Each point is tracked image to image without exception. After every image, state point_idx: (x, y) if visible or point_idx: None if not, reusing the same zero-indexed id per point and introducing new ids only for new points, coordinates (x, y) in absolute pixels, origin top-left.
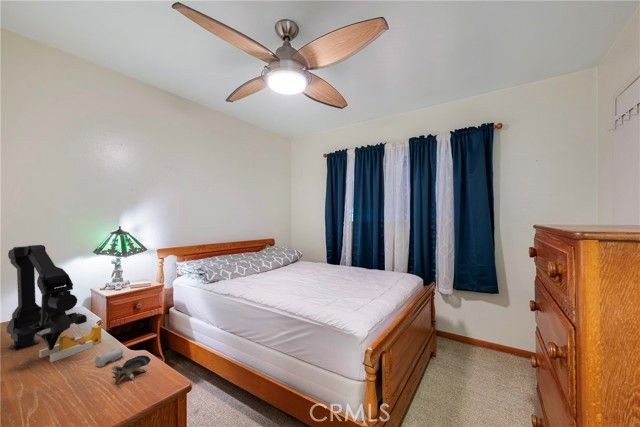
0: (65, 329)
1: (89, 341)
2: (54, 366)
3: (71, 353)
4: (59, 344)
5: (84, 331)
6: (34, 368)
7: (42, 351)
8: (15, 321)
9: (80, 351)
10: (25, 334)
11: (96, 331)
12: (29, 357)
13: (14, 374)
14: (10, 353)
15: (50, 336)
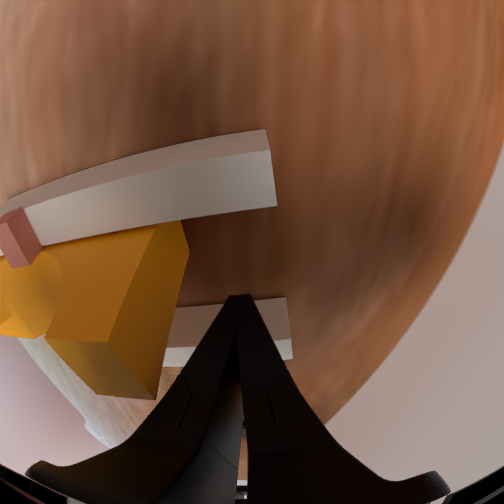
0: (43, 478)
1: None
2: (276, 5)
3: (108, 166)
4: (169, 322)
5: (96, 401)
6: (386, 133)
7: (283, 334)
8: None
9: (60, 178)
10: None
11: None
12: (317, 344)
13: (469, 163)
14: (330, 407)
15: (269, 455)
